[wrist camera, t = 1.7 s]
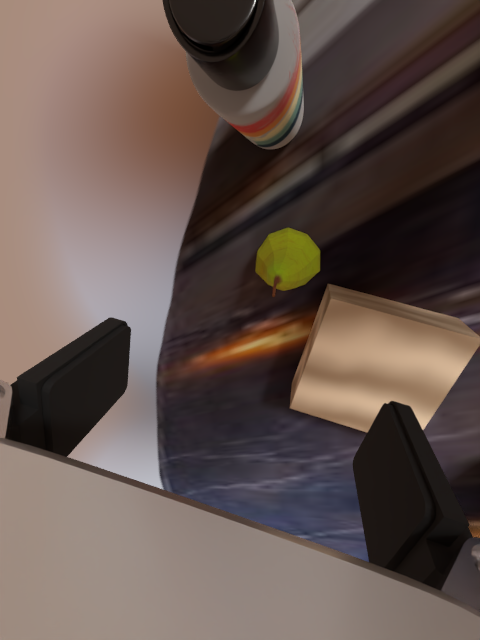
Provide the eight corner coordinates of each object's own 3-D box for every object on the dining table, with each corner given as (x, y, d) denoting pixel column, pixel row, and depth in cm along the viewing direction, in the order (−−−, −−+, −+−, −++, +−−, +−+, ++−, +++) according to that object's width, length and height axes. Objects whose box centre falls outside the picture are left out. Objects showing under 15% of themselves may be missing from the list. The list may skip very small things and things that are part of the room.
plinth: (327, 283, 33) (331, 298, 28) (458, 318, 32) (483, 339, 27) (291, 383, 39) (289, 408, 35) (399, 415, 38) (412, 446, 33)
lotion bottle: (233, 133, 29) (113, 45, 11) (259, 65, 27) (160, -190, 9) (284, 161, 29) (247, 117, 11) (316, 95, 27) (333, -96, 9)
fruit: (320, 222, 31) (326, 241, 20) (318, 281, 33) (323, 325, 22) (258, 226, 32) (233, 245, 21) (261, 282, 34) (239, 324, 24)
